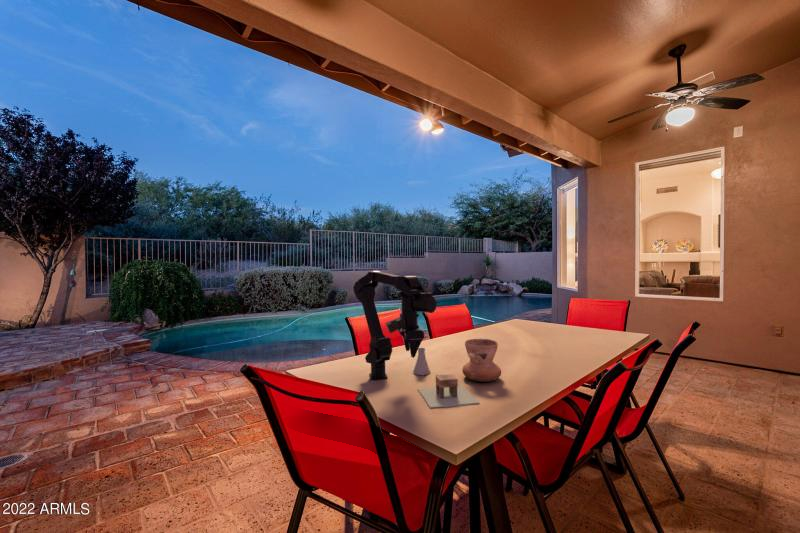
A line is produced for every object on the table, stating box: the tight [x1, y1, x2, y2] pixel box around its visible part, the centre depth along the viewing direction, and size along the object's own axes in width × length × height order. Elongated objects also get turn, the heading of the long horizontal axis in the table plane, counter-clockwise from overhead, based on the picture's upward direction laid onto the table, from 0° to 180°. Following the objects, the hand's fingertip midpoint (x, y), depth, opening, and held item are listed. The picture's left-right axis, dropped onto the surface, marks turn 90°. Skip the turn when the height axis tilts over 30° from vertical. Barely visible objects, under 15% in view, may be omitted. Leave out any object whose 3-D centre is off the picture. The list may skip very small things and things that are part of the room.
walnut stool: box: [435, 373, 459, 399], centre depth 112 cm, size 6×5×6 cm
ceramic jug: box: [461, 338, 502, 383], centre depth 130 cm, size 18×14×14 cm
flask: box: [412, 347, 431, 376], centre depth 137 cm, size 7×7×10 cm
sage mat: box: [417, 384, 480, 409], centre depth 112 cm, size 16×16×1 cm
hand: (410, 353), depth 121 cm, fingers open, 9 cm apart
